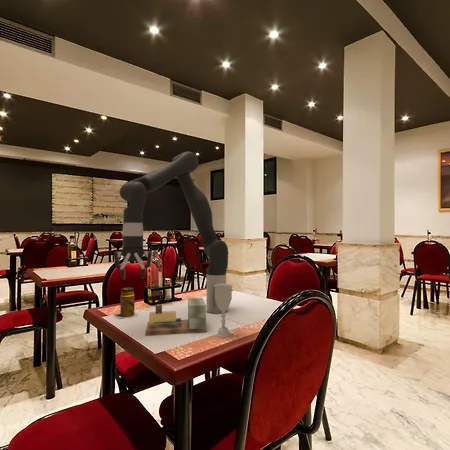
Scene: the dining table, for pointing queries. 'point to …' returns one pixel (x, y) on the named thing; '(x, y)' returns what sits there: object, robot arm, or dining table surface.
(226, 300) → the chalice
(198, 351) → the dining table surface
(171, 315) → the tan box
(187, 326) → the brown board with blocks
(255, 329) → the dining table surface
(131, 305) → the condiment
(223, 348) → the dining table surface
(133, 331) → the dining table surface
